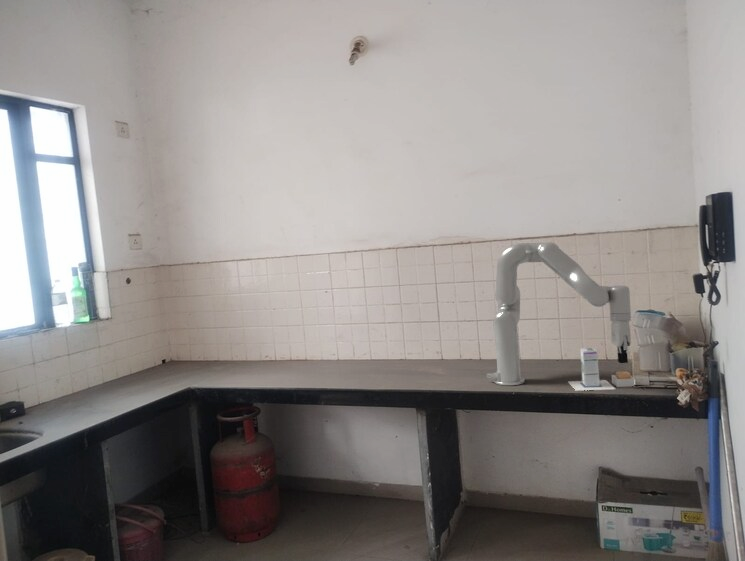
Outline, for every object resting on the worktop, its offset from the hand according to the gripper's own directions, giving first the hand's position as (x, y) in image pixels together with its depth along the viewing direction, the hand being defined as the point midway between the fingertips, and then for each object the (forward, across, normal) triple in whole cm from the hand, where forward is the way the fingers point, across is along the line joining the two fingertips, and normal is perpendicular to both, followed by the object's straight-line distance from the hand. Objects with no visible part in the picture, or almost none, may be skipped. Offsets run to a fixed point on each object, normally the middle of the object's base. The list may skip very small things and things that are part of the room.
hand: (622, 362), depth 222 cm
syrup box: (+9, 0, -13) cm, 15 cm away
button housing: (+9, 0, 0) cm, 9 cm away
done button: (+7, 0, 0) cm, 7 cm away
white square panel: (+9, 0, -13) cm, 15 cm away
